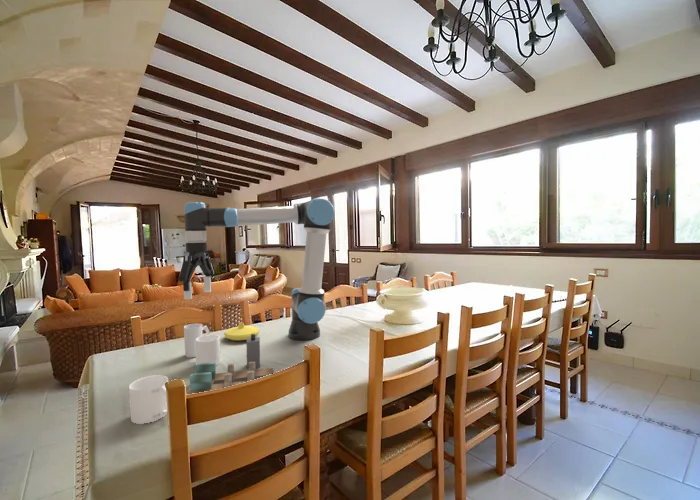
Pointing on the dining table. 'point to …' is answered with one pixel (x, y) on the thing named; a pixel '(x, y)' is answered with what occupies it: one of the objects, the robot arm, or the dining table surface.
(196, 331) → the mug
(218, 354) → the cup
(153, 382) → the mug
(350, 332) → the dining table surface
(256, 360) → the block
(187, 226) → the robot arm
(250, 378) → the board
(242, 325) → the yellow pattypan squash
